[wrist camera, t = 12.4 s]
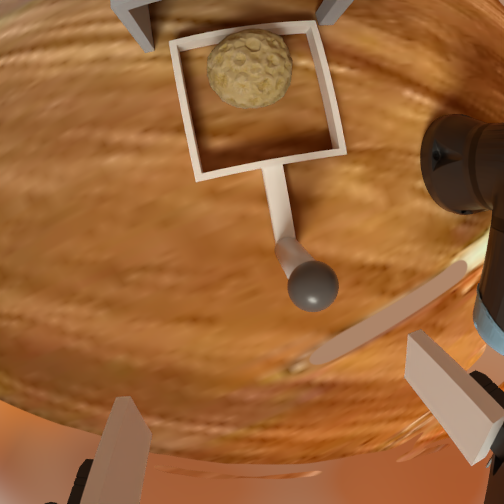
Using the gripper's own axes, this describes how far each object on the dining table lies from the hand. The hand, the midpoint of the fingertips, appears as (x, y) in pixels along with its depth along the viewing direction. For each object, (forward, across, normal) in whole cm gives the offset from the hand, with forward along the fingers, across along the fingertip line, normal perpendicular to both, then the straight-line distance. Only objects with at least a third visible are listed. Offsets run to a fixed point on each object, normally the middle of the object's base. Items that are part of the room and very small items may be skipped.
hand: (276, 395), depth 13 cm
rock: (+28, -5, -20) cm, 35 cm away
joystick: (+27, -5, -11) cm, 30 cm away
